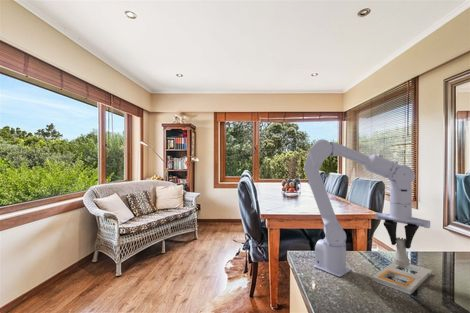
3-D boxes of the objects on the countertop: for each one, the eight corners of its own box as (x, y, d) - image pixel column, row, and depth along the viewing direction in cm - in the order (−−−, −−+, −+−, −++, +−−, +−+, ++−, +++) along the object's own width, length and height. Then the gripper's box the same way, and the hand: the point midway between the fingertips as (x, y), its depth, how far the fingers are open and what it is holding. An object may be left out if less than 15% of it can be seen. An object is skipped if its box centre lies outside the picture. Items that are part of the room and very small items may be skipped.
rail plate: (371, 280, 74) (371, 275, 74) (396, 263, 86) (395, 259, 86) (410, 294, 66) (410, 289, 66) (431, 273, 78) (431, 269, 78)
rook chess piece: (412, 267, 74) (412, 241, 74) (395, 266, 75) (395, 240, 75) (407, 261, 78) (406, 236, 78) (391, 260, 79) (390, 235, 79)
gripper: (432, 204, 73) (433, 249, 73) (380, 198, 85) (380, 237, 84) (426, 207, 69) (426, 255, 69) (372, 200, 80) (372, 241, 80)
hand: (400, 246), depth 76 cm, fingers closed on rook chess piece, 3 cm apart
